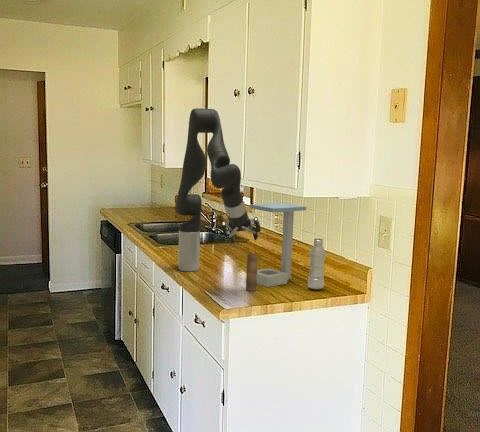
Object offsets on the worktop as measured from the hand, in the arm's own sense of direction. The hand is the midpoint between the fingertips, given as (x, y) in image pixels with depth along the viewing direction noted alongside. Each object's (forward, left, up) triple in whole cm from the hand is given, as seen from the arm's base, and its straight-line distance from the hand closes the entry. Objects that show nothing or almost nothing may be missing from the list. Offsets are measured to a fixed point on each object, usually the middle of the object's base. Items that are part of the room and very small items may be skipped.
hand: (244, 240), depth 204 cm
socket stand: (-8, +15, -19) cm, 25 cm away
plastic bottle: (+6, +28, -19) cm, 34 cm away
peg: (+5, +2, -19) cm, 19 cm away
